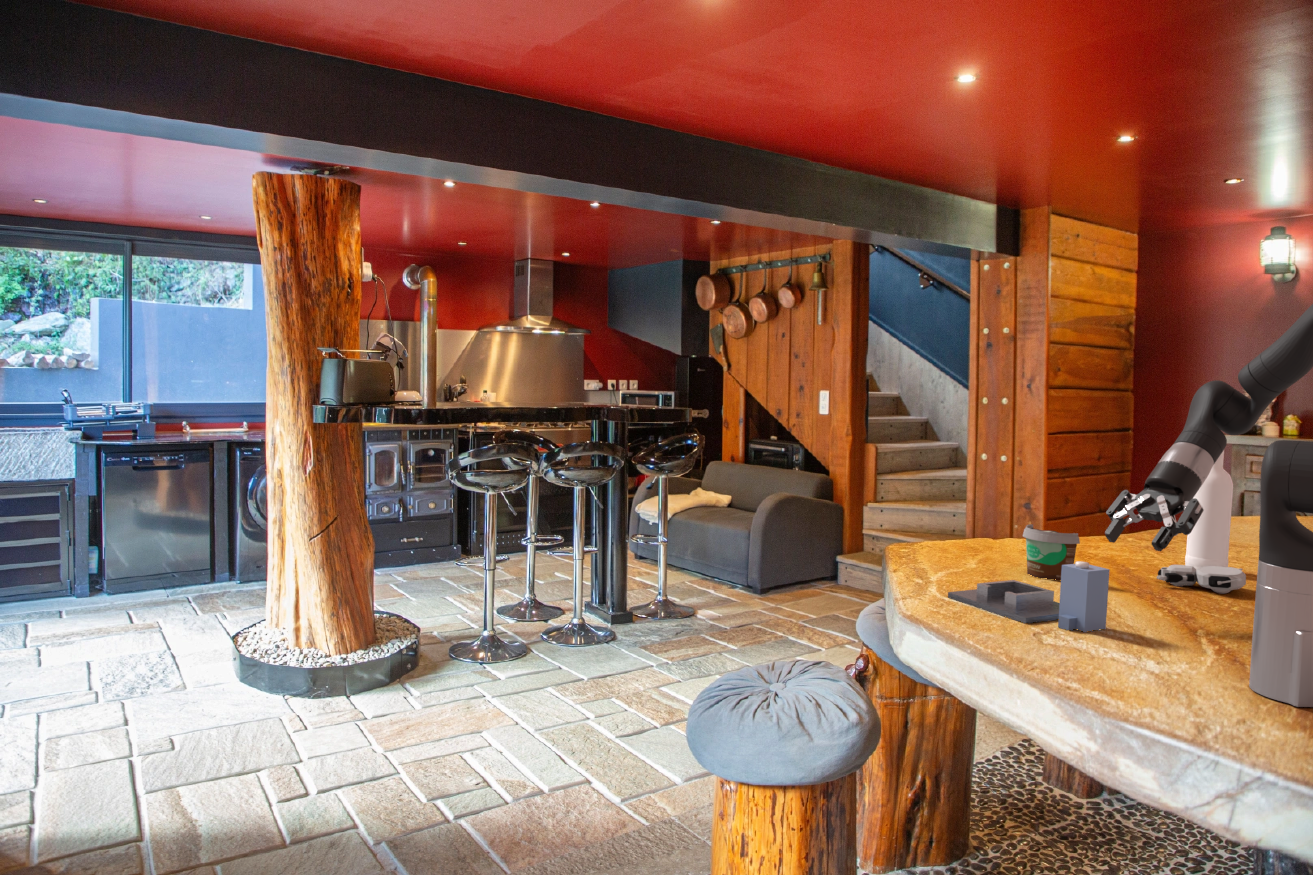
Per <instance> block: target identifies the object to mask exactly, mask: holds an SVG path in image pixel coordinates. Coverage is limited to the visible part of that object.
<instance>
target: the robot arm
mask: <svg viewBox="0 0 1313 875" xmlns="http://www.w3.org/2000/svg"><path fill="white" fill-rule="evenodd" d="M1312 369H1313V303H1312V304H1311V305H1310V306H1309V307H1308V308H1307V309H1305V311H1304V312H1303V313H1302V314H1301V315H1300V316H1299V318H1298V319H1297V320H1296V321H1295V322H1293V324H1292V325H1291V326H1289V328H1288V329H1287V330H1286V331H1284V333H1283V334H1282V335H1281V336H1280V337H1279V338H1277V339H1276V340H1275V341H1274V342H1272V344H1271V345H1269V346H1268V347H1267V348H1266V349H1264V350H1263V351H1262V352H1260V353H1259V354H1258V355H1256V356H1255V357H1254V358H1253V359H1252V360H1250V361H1249V362H1248V363H1247V364H1246V365H1244V366H1243V367H1242V368H1241V369H1240V370H1239V372H1238V374H1237V380H1238V382H1239V385H1240V386H1241V387H1242V389H1243V390H1244V391H1245V392H1246V393H1247V394H1248V395H1249V397H1248V396H1246V395H1245V394H1244V393H1242V392H1240V391H1239V390H1237V388H1234V387H1233V386H1231V384H1228V383H1227V382H1225V381H1223V380H1220V379H1219V380H1215V379H1214V380H1211V381H1207V382H1205V383H1204V384H1203V385H1201V386H1200V387H1199V388H1198V389H1197V391H1196V392H1195V393H1194V395H1193V397H1192V400H1191V402H1190V404H1189V410H1188V414H1187V417H1186V421H1185V424H1184V427H1183V429H1182V431H1181V433H1180V434H1179V435H1178V437H1177V438H1176V440H1175V441H1174V442H1173V444H1172V445H1171V446H1170V448H1168V450H1166V451H1165V453H1164V454H1163V455H1162V457H1161V459H1159V461H1158V462H1157V464H1156V466H1155V467H1154V468H1153V470H1152V471H1151V472H1150V474H1149V475H1148V476H1147V478H1146V480H1145V482H1144V486H1143V489H1142V490H1141V491H1140V492H1139V493H1137V494H1135V493H1130V491H1129V490H1128V489H1123V490H1122V491H1121V492H1120V493H1119V495H1118V496H1117V497H1116V499H1115V500H1114V501H1113V502H1112V504H1111V505H1110V506H1109V507H1108V509H1107V510H1106V512H1105V513H1106V515H1107V516H1108V517H1109V519H1110V521H1111V522H1110V524H1109V525H1108V527H1107V528H1106V530H1105V531H1104V534H1105V538H1106V539H1107V540H1108V542H1109V543H1113V544H1114V543H1116V541H1117V540H1118V539H1119V537H1120V536H1121V535H1122V533H1123V531H1124V530H1125V529H1126V527H1127V526H1128V525H1130V524H1132V523H1135V524H1136V523H1139V522H1141V521H1143V520H1145V521H1155V522H1158V523H1162V522H1163V525H1164V526H1161V527H1160V529H1159V530H1158V532H1157V533H1156V535H1155V536H1154V537H1153V539H1152V541H1151V546H1152V548H1153V549H1154V551H1156V552H1162V551H1163V550H1164V549H1166V548H1167V547H1168V545H1169V544H1170V543H1171V542H1172V540H1173V538H1174V537H1176V536H1178V535H1179V534H1183V535H1184V536H1187V535H1188V534H1190V533H1191V531H1192V530H1193V528H1194V526H1195V525H1196V523H1197V521H1198V519H1199V518H1200V516H1201V514H1202V513H1203V511H1204V509H1203V508H1202V506H1201V505H1200V503H1199V501H1198V500H1197V499H1196V498H1194V496H1195V495H1196V493H1197V492H1198V490H1199V489H1200V487H1201V486H1202V484H1203V483H1204V481H1205V480H1206V478H1207V477H1208V475H1209V473H1210V471H1211V469H1212V467H1213V465H1214V464H1215V462H1216V461H1217V459H1218V458H1219V456H1220V455H1221V453H1222V452H1223V450H1224V451H1225V449H1226V447H1227V442H1228V440H1227V438H1226V435H1225V434H1227V435H1230V436H1239V435H1244V434H1246V433H1247V432H1249V431H1250V430H1252V428H1253V427H1254V426H1255V425H1256V424H1257V422H1258V421H1259V419H1260V418H1261V416H1262V415H1263V413H1264V412H1265V410H1267V408H1268V407H1269V406H1270V405H1271V403H1273V401H1274V400H1275V399H1277V397H1279V395H1281V394H1282V393H1283V392H1284V391H1286V390H1287V389H1289V388H1290V387H1292V386H1293V385H1294V384H1296V383H1297V382H1298V381H1300V380H1301V379H1303V378H1304V377H1305V376H1306V375H1307V374H1308V373H1309V372H1310V371H1311V370H1312ZM1259 486H1260V487H1259V488H1260V489H1259V490H1260V500H1259V501H1260V507H1259V509H1260V511H1259V512H1260V515H1259V531H1258V533H1259V534H1258V535H1259V537H1258V547H1259V549H1258V560H1257V574H1256V587H1255V599H1254V600H1255V601H1254V610H1253V611H1254V612H1253V628H1252V639H1251V653H1250V654H1251V655H1250V667H1249V669H1250V670H1249V681H1248V682H1249V684H1248V686H1249V688H1250V689H1251V690H1252V691H1253V692H1255V693H1256V694H1259V695H1261V696H1263V697H1266V698H1269V699H1272V700H1275V701H1278V702H1283V703H1286V704H1290V705H1292V707H1293V706H1294V707H1297V708H1299V707H1300V708H1303V707H1304V708H1313V531H1312V530H1310V529H1309V528H1308V527H1306V526H1305V525H1303V523H1302V522H1300V521H1299V519H1298V517H1297V513H1306V514H1312V515H1313V441H1312V440H1311V441H1310V440H1309V441H1307V440H1292V439H1291V440H1289V439H1287V440H1285V439H1281V440H1280V439H1278V440H1274V441H1273V442H1271V443H1270V444H1269V445H1268V447H1267V448H1266V449H1265V451H1264V454H1263V457H1262V460H1261V468H1260V485H1259ZM1193 498H1194V499H1193ZM1134 510H1136V511H1137V512H1138V514H1135V513H1134ZM1296 512H1297V513H1296ZM1180 513H1182V514H1181V515H1180V517H1179V518H1178V520H1177V519H1176V515H1178V514H1180ZM1126 516H1128V517H1126ZM1124 517H1125V518H1124Z"/></svg>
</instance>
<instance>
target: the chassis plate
mask: <svg viewBox="0 0 1313 875" xmlns="http://www.w3.org/2000/svg"><path fill="white" fill-rule="evenodd" d="M947 598H948V599H951V600H954V601H957V602H961V603H963V604H966V605H969V606H973V607H975V608H978V609H980V608H982V609H981V610H983V609H985V610H984V611H986V610H987V611H986V612H990V613H992V612H994V613H993V614H995V613H996V615H998V614H999V616H1002V617H1004V616H1006V617H1005V618H1007V617H1008V619H1010V618H1011V619H1010V620H1013V621H1016V622H1019V621H1021V622H1020V623H1022V622H1023V623H1022V624H1025V623H1028V624H1034V623H1033V622H1036V623H1042V622H1041V621H1044V622H1050V621H1057V620H1056V619H1059V604H1060V602H1057V601H1054V600H1055V599H1054V598H1055V591H1054V590H1050V589H1047V588H1045V587H1044V588H1043V587H1041V586H1040V587H1039V586H1037V585H1033V584H1028V583H1026V582H1022V581H1018V580H1015V579H1010V580H1008V579H1007V580H999V581H988V582H987V581H986V582H980V583H979V582H977V583H976V589H975V588H974V589H968V590H967V589H965V590H956V591H955V590H954V591H948V592H947Z"/></svg>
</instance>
